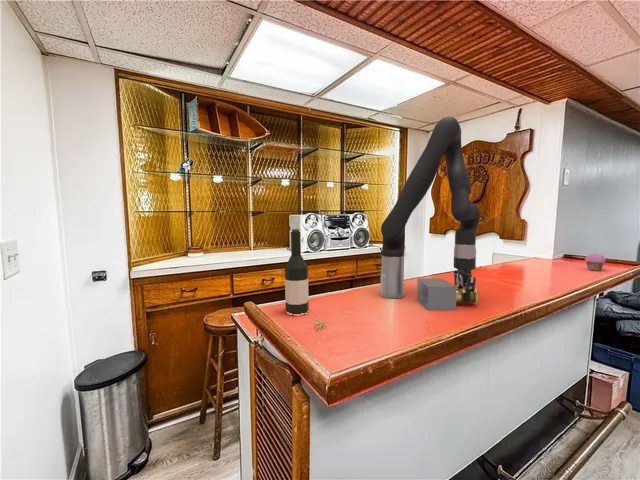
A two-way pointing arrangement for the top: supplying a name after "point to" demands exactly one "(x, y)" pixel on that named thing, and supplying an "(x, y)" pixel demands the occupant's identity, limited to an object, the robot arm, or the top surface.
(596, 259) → the cupcake
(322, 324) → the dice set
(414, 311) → the top surface
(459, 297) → the end cap
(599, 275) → the top surface
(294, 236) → the wine bottle
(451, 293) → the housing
